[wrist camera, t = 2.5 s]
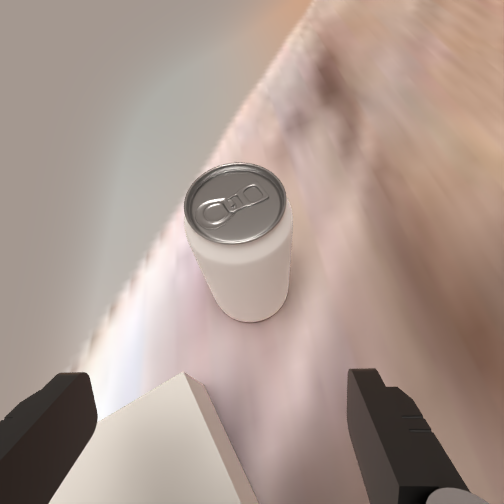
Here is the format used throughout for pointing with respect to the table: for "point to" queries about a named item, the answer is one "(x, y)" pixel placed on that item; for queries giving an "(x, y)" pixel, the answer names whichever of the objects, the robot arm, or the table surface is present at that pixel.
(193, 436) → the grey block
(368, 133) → the table surface
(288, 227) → the can
